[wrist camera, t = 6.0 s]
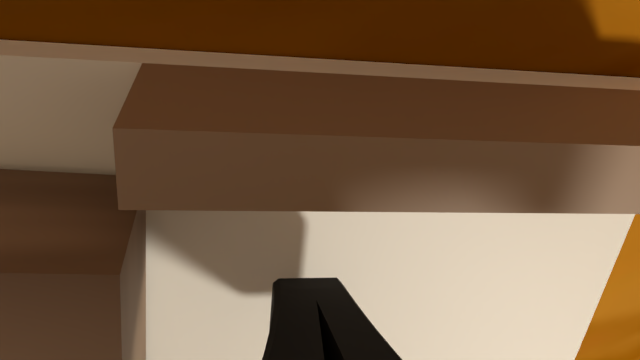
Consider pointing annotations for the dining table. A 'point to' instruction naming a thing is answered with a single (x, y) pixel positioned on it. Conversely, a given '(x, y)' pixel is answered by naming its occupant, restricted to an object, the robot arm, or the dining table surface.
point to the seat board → (344, 189)
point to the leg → (70, 269)
